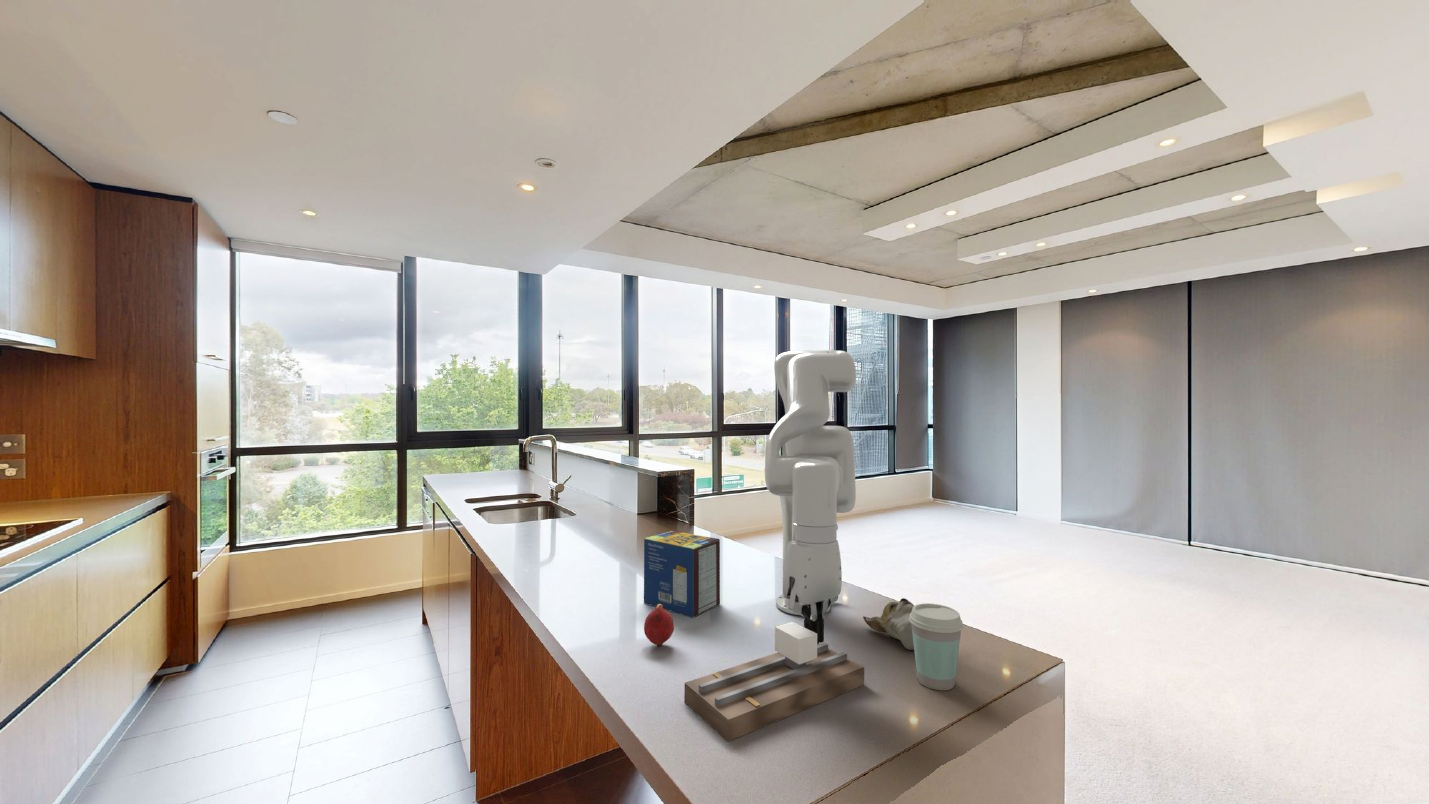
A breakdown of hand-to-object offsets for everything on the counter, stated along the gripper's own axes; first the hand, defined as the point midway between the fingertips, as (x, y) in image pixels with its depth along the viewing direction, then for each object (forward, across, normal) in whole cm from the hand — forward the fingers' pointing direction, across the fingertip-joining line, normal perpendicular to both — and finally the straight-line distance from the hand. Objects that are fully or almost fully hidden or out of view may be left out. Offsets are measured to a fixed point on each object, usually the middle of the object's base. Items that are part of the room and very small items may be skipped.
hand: (813, 640), depth 92 cm
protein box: (+7, +1, -43) cm, 44 cm away
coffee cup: (+7, -17, +12) cm, 22 cm away
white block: (+3, +4, 0) cm, 5 cm away
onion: (+7, +16, -26) cm, 31 cm away
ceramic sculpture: (+7, -26, -2) cm, 27 cm away
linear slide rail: (+7, +8, 0) cm, 11 cm away
